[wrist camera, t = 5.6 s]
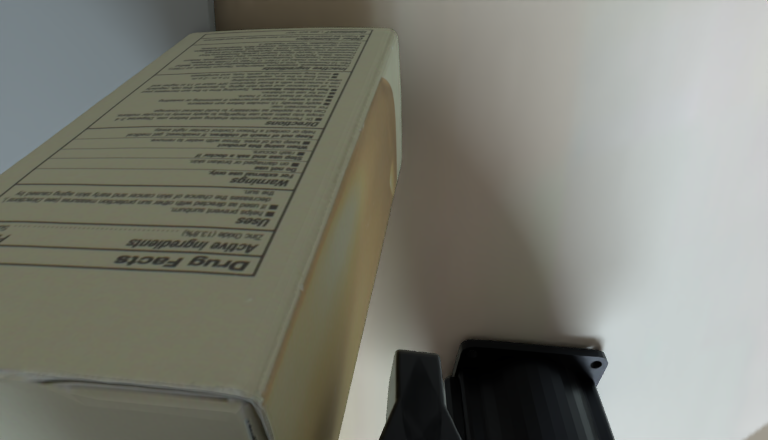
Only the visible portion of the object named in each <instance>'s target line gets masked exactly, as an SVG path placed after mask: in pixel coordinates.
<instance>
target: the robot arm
mask: <svg viewBox="0 0 768 440" xmlns="http://www.w3.org/2000/svg"><path fill="white" fill-rule="evenodd" d="M472 350H474V351H472ZM607 365H608V362H607V359H606V357H605V354H604V353H603V352H602V351H599V350H591V349H579V348H567V347H555V346H544V345H532V344H520V343H508V342H497V341H485V340H466V341H464V342H463V343H461V345H460V347H459V351H458V355H457V358H456V362H455V366H454V369H453V373H452V376H448V377H447V378H446V379H445V380H444V382H443V379H442V370H441V360H440V357H439V355H438V354H435V353H427V352H417V351H409V350H397V351H396V352H395V355H394V360H393V365H392V371H391V376H390V381H389V389H388V400H387V413H386V424H385V426H384V429H383V431H382V433H381V436H380V438H379V440H615V439H614V436H613V433H612V431H611V428H610V425H609V422H608V419H607V416H606V414H605V411H604V408H603V405H602V402H601V399H600V397H599V394H598V391H597V388H596V386H597V385H598V383H599V381H600V379H601V377H602V375H603V373H604V371H605V369H606V367H607Z"/></svg>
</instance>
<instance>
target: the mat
mask: <svg viewBox="0 0 768 440" xmlns="http://www.w3.org/2000/svg"><path fill="white" fill-rule="evenodd" d="M200 32H216V28H215V14H214V0H0V175H1V174H2V173H3V172H5V171H6V170H7V169H9V168H10V167H11V166H13V165H14V164H16V163H17V162H18V161H20V160H21V159H22V158H24V157H25V156H27V155H28V154H29V153H31V152H32V151H33V150H35V149H36V148H37V147H39V146H40V145H41V144H43V143H44V142H46V141H47V140H48V139H50V138H51V137H52V136H53V135H55V134H56V133H57V132H59V131H60V130H61V129H63V128H64V127H65V126H67V125H68V124H70V123H71V122H72V121H74V120H75V119H76V118H78V117H79V116H80V115H82V114H83V113H84V112H86V111H87V110H88V109H90V108H91V107H92V106H94V105H95V104H96V103H98V102H99V101H100V100H101V99H103V98H104V97H106V96H107V95H109V94H110V93H112V92H113V91H114V90H116V89H117V88H118V87H119V86H121V85H122V84H123V83H125V82H126V81H127V80H129V79H130V78H132V77H133V76H134V75H136V74H137V73H138V72H140V71H141V70H142V69H143V68H145V67H146V66H147V65H149V64H150V63H152V62H153V61H154V60H156V59H157V58H158V57H160V56H161V55H162V54H163V53H165V52H166V51H168V50H169V49H170V48H172V47H173V46H174V45H176V44H177V43H178V42H180V41H181V40H182V39H184V38H185V37H186V36H188V35H189V34H192V33H200Z"/></svg>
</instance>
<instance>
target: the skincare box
mask: <svg viewBox="0 0 768 440" xmlns="http://www.w3.org/2000/svg"><path fill="white" fill-rule="evenodd" d="M401 162H402V122H401V81H400V60H399V42H398V37H397V34H396V32H395V31H394V30H392V29H389V28H338V27H337V28H285V29H255V30H233V31H216V32H200V33H192V34H189V35H188V36H186V37H185V38H184V39H182V40H181V41H180V42H178V43H177V44H176V45H174V46H173V47H172V48H170V49H169V50H168V51H166V52H165V53H163V54H162V55H161V56H160V57H158V58H157V59H156V60H154V61H153V62H152V63H150V64H149V65H147V66H146V67H145V68H143V69H142V70H141V71H140V72H138V73H137V74H136V75H134V76H133V77H132V78H130V79H129V80H127V81H126V82H125V83H123V84H122V85H121V86H119V87H118V88H117V89H116V90H114V91H113V92H112V93H110V94H109V95H107V96H106V97H104V98H103V99H101V100H100V101H99V102H98V103H96V104H95V105H94V106H92V107H91V108H90V109H88V110H87V111H86V112H84V113H83V114H82V115H80V116H79V117H78V118H76V119H75V120H74V121H72V122H71V123H70V124H68V125H67V126H65V127H64V128H63V129H61V130H60V131H59V132H57V133H56V134H55V135H53V136H52V137H51V138H50V139H48V140H47V141H46V142H44V143H43V144H41V145H40V146H39V147H37V148H36V149H35V150H33V151H32V152H31V153H29V154H28V155H27V156H25V157H24V158H22V159H21V160H20V161H18V162H17V163H16V164H14V165H13V166H11V167H10V168H9V169H7V170H6V171H5V172H3V173H2V174H1V175H0V440H338V438H339V434H340V430H341V425H342V421H343V417H344V413H345V408H346V404H347V399H348V395H349V390H350V386H351V382H352V377H353V373H354V369H355V365H356V360H357V356H358V351H359V347H360V342H361V338H362V334H363V330H364V325H365V321H366V316H367V312H368V308H369V303H370V299H371V294H372V290H373V286H374V281H375V277H376V273H377V269H378V264H379V260H380V255H381V250H382V246H383V241H384V237H385V233H386V229H387V224H388V219H389V215H390V210H391V206H392V201H393V197H394V193H395V189H396V185H397V181H398V176H399V172H400V168H401Z"/></svg>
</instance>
